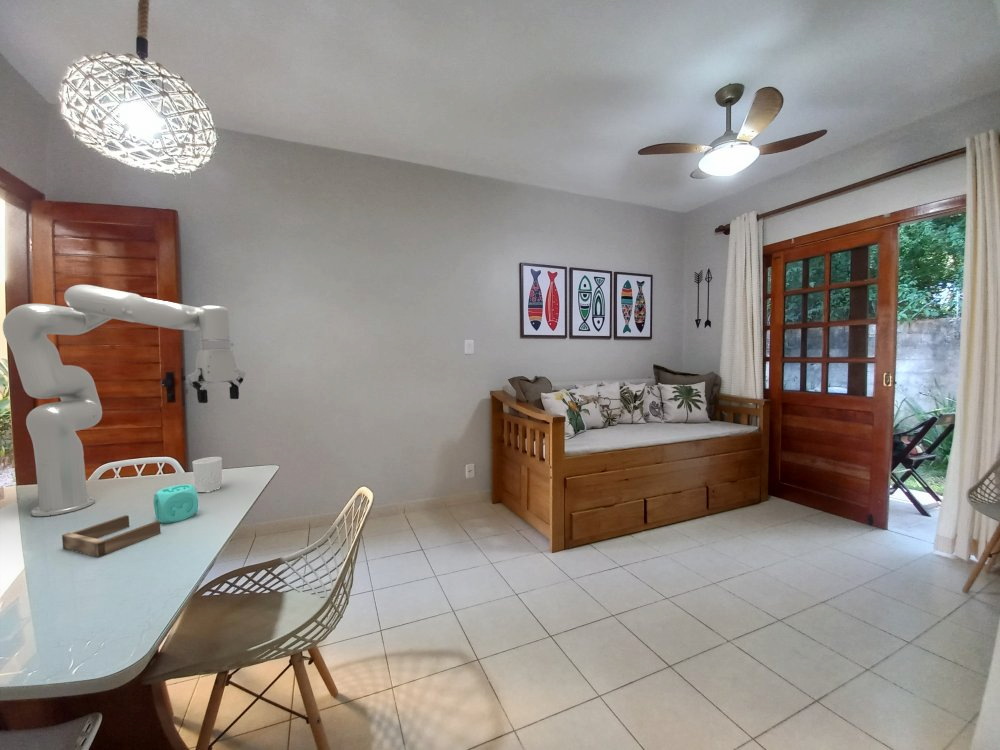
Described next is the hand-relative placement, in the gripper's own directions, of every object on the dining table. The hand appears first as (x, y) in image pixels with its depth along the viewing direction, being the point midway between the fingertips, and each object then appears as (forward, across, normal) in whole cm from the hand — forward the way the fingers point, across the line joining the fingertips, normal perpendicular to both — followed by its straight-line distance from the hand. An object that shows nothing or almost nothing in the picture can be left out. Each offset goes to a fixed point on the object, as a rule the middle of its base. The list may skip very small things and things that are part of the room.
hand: (219, 400), depth 123 cm
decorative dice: (+31, +16, +3) cm, 35 cm away
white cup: (+31, -2, -11) cm, 33 cm away
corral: (+31, +29, +4) cm, 42 cm away
